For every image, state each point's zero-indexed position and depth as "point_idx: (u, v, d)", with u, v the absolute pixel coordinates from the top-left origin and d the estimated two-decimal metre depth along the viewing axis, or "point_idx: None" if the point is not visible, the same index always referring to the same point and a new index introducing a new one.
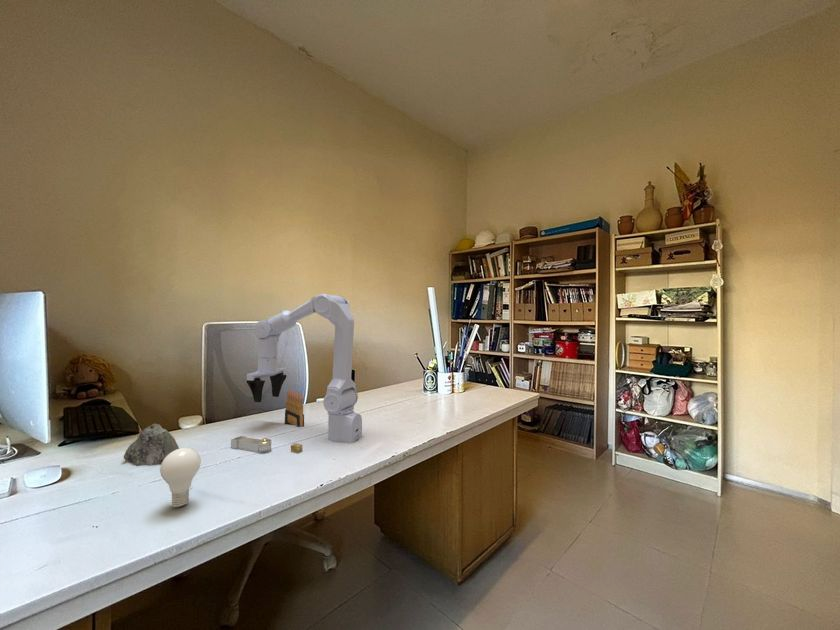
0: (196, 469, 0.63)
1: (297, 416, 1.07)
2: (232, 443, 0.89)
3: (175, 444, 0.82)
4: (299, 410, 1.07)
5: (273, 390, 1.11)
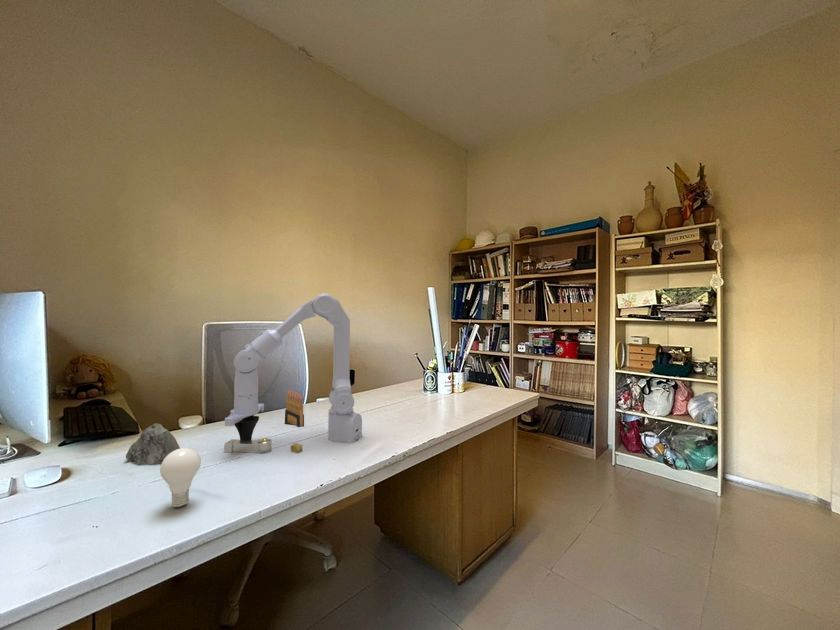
0: (196, 469, 0.63)
1: (297, 416, 1.07)
2: (226, 447, 0.86)
3: (176, 444, 0.82)
4: (299, 410, 1.07)
5: (242, 437, 0.89)
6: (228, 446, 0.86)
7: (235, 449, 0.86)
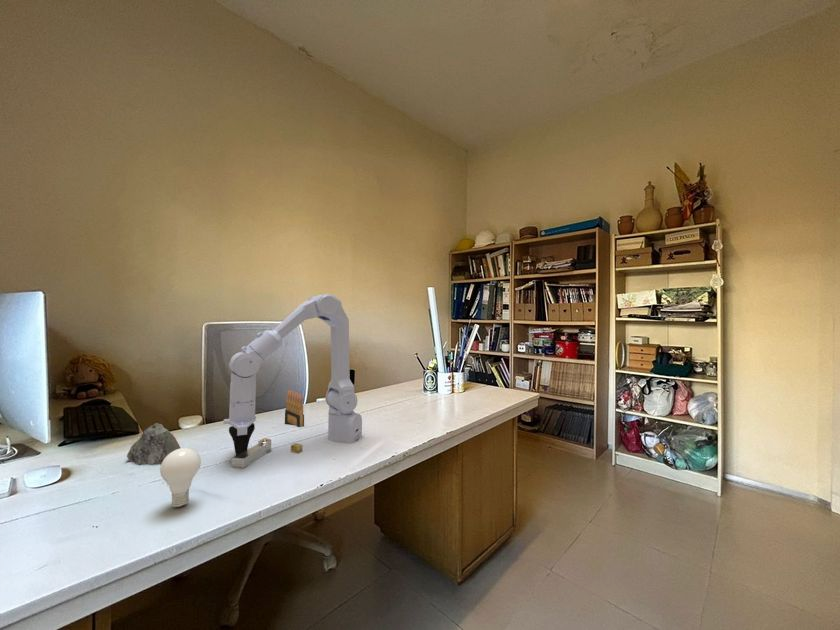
0: (196, 469, 0.63)
1: (297, 416, 1.07)
2: (245, 461, 0.78)
3: (176, 444, 0.82)
4: (299, 410, 1.07)
5: (237, 448, 0.81)
6: (247, 459, 0.78)
7: (250, 460, 0.80)
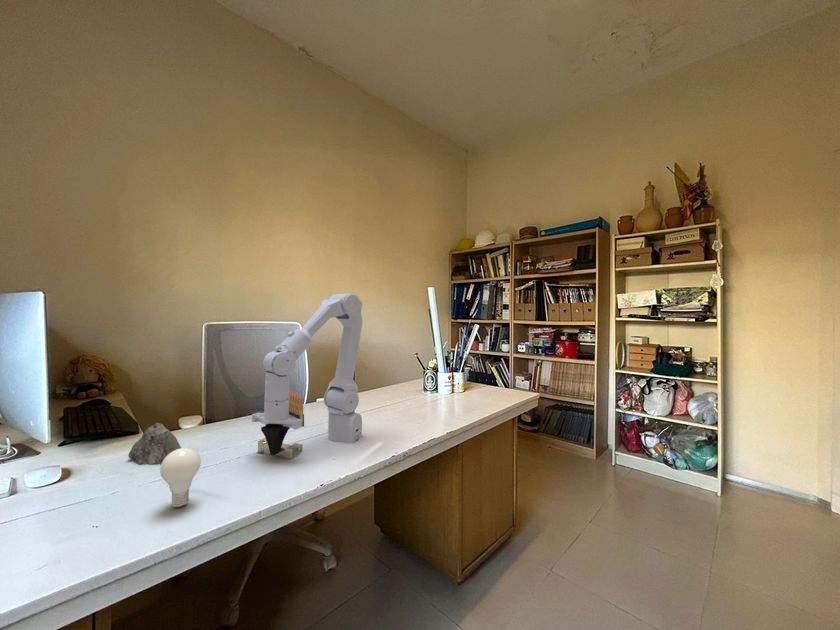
0: (196, 469, 0.63)
1: (297, 416, 1.07)
2: None
3: (177, 444, 0.82)
4: (299, 410, 1.07)
5: None
6: None
7: None
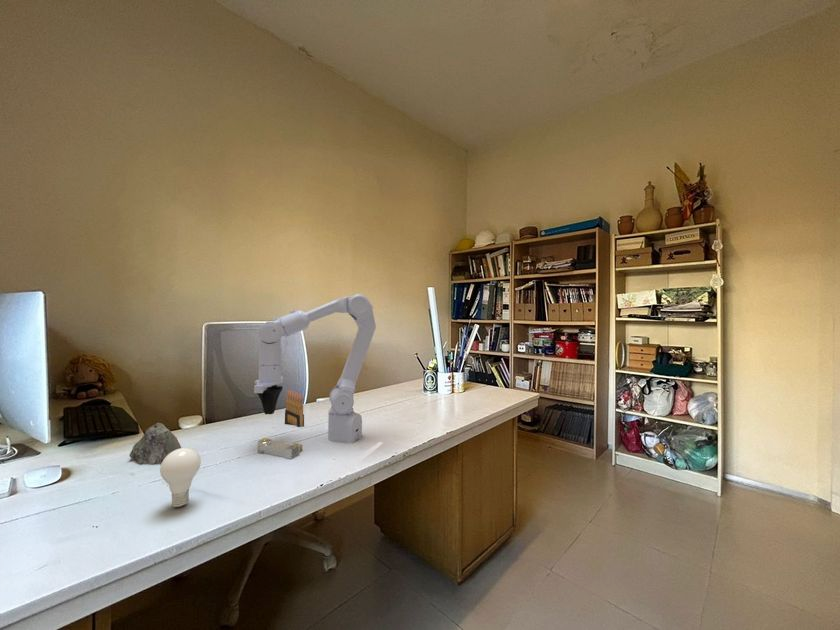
0: (196, 469, 0.63)
1: (297, 416, 1.07)
2: None
3: (177, 444, 0.82)
4: (299, 410, 1.07)
5: None
6: None
7: None
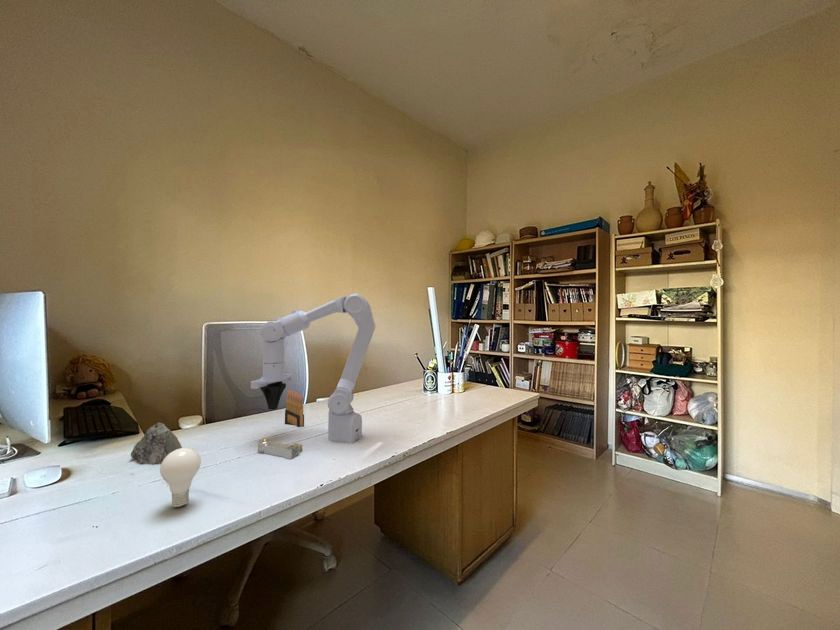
0: (196, 469, 0.63)
1: (297, 416, 1.07)
2: None
3: (178, 444, 0.82)
4: (299, 410, 1.07)
5: None
6: None
7: None
